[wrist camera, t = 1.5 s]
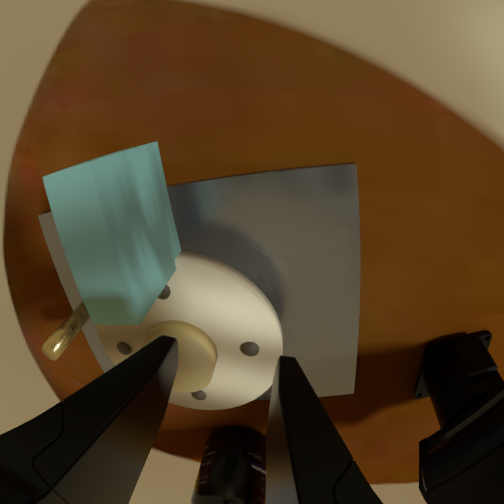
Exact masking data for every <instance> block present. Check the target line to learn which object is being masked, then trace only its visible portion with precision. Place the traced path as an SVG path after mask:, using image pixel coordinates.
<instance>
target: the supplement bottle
mask: <svg viewBox="0 0 504 504" xmlns="http://www.w3.org/2000/svg"><path fill="white" fill-rule="evenodd" d="M191 504H266V436H265V435H264V434H262V433H260V432H258V431H256V430H253V429H250V428H246V427H239V426H227V427H222V428H219V429H216V430H215V431H213V432H212V433H211V434H210V435H209V437H208V439H207V443H206V446H205V450H204V453H203V457H202V461H201V464H200V468H199V472H198V476H197V479H196V483H195V487H194V490H193V494H192V498H191Z"/></svg>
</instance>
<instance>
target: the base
mask: <svg viewBox="0 0 504 504" xmlns="http://www.w3.org/2000/svg"><path fill="white" fill-rule="evenodd" d="M166 187H167V191H168V196H169V200H170V205H171V209H172V213H173V218H174V222H175V226H176V230H177V235H178V239H179V243H180V247H181V251H188V252H193V253H197V254H202V255H205V256H208V257H211V258H214V259H216V260H219V261H221V262H223V263H225V264H227V265H229V266H231V267H232V268H234V269H236V270H237V271H239V272H241V273H242V274H243V275H245V276H246V277H247V278H248V279H250V280H251V281H252V282H253V283H254V284H255V285H256V286H257V287H258V288H259V289H260V290H261V291H262V292H263V293H264V294H265V296H266V297H267V298H268V299H269V301H270V302H271V304H272V306H273V307H274V309H275V311H276V313H277V315H278V318H279V320H280V323H281V328H282V332H283V356H291V357H295V358H296V359H297V361H298V363H299V365H300V366H301V368H302V370H303V372H304V373H305V375H306V377H307V379H308V380H309V382H310V384H311V386H312V388H313V389H314V391H315V393H316V395H317V396H318V397H324V396H335V395H345V394H354V387H355V376H356V363H357V349H358V332H359V309H360V222H359V199H358V182H357V167H356V164H355V163H341V164H328V165H317V166H306V167H296V168H287V169H278V170H269V171H261V172H253V173H245V174H238V175H231V176H224V177H217V178H210V179H204V180H197V181H191V182H185V183H179V184H173V185H168V186H166ZM38 218H39V221H40V224H41V228H42V231H43V234H44V237H45V240H46V243H47V246H48V249H49V252H50V254H51V257H52V260H53V263H54V265H55V268H56V271H57V273H58V276H59V278H60V281H61V283H62V286H63V288H64V291H65V293H66V295H67V298H68V300H69V302H70V305H71V307H72V309H73V312H72V313H71V314H70V315H69V316H68V317H67V318H66V320H65V321H64V322H63V323H62V324H61V325H60V326H59V327H58V329H57V330H56V331H55V332H54V333H53V334H52V335H51V337H50V338H49V339H48V340H47V341H46V342H45V343H44V345H43V346H42V351H43V352H44V354H45V355H46V356H47V357H48V358H49V359H51V360H54V361H55V360H57V359H58V357H59V356H60V355H61V354H62V352H63V351H64V350H65V348H66V347H67V346H68V345H69V343H70V342H71V341H72V340H73V338H74V337H75V336H76V335H77V333H78V332H79V331H80V330H81V329H82V331H83V333H84V335H85V337H86V339H87V341H88V343H89V345H90V347H91V349H92V351H93V353H94V355H95V357H96V358H97V360H98V362H99V364H100V366H101V368H102V369H103V371H104V373H105V372H107V371H108V370H110V369H111V368H113V367H114V366H116V365H115V364H114V363H113V362H112V360H111V359H110V357H109V356H108V354H107V353H106V351H105V349H104V347H103V345H102V343H101V340H100V338H99V335H98V331H97V327H96V324H93V322H92V320H91V318H90V316H89V313H88V311H87V309H86V306H85V304H84V302H83V299H82V297H81V294H80V292H79V290H78V287H77V284H76V282H75V279H74V277H73V274H72V272H71V269H70V266H69V263H68V261H67V258H66V255H65V252H64V249H63V246H62V243H61V240H60V237H59V234H58V231H57V228H56V225H55V221H54V218H53V215H52V211H48V212H44V213H41V214H40V215H38ZM271 391H272V385H271V386H270V387H269V389H268V390H266V391H265V392H264V393H263V394H262V395H261V396H259V397H257V398H256V399H254V400H270V399H271Z"/></svg>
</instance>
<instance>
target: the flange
mask: <svg viewBox="0 0 504 504" xmlns="http://www.w3.org/2000/svg"><path fill="white" fill-rule="evenodd" d="M43 181H44V185H45V189H46V193H47V197H48V201H49V204H50V208H51V211H52V215H53V218H54V221H55V225H56V228H57V231H58V234H59V237H60V240H61V243H62V246H63V249H64V252H65V255H66V258H67V261H68V263H69V266H70V269H71V272H72V274H73V277H74V279H75V282H76V284H77V287H78V290H79V292H80V294H81V297H82V299H83V302H84V304H85V306H86V309H87V311H88V313H89V316H90V318H91V320H92V322H93V324H96V327H97V331H98V335H99V338H100V340H101V343H102V345H103V347H104V349H105V351H106V353H107V354H108V356H109V357H110V359H111V360H112V362H113V363H114V364H115V365H117V364H119V363H120V362H122V361H123V360H125V359H126V358H128V357H129V356H131V355H132V354H134V353H135V352H137V351H138V350H140V349H141V348H143V347H144V346H146V345H147V344H149V343H150V342H152V341H153V340H155V339H156V338H158V337H159V336H161V335H167V336H171V337H175V338H176V339H177V340H178V355H179V363H178V369H177V372H176V376H175V380H174V383H173V387H172V390H171V394H170V398H169V401H168V402H170V403H172V404H175V405H179V406H183V407H187V408H193V409H202V410H220V409H228V408H233V407H237V406H240V405H243V404H246V403H248V402H250V401H252V400H254V399H256V398H257V397H259V396H261V395H262V394H263V393H264V392H265V391H266V390H268V389H269V387H270V386H271V385H272V384H273V378H274V374H275V369H276V365H277V361H278V357H279V356H281V355H283V332H282V328H281V323H280V320H279V318H278V315H277V313H276V311H275V309H274V307H273V306H272V304H271V302H270V301H269V299H268V298H267V297H266V296H265V294H264V293H263V292H262V291H261V290H260V289H259V288H258V287H257V286H256V285H255V284H254V283H253V282H252V281H251V280H250V279H248V278H247V277H246V276H245V275H243V274H242V273H241V272H239V271H237V270H236V269H234V268H232V267H231V266H229V265H227V264H225V263H223V262H221V261H219V260H216V259H214V258H211V257H208V256H205V255H202V254H197V253H193V252H188V251H181V247H180V243H179V239H178V235H177V230H176V226H175V222H174V218H173V213H172V209H171V205H170V200H169V196H168V191H167V187H166V182H165V177H164V173H163V168H162V163H161V158H160V153H159V148H158V143H157V142H153V143H149V144H145V145H141V146H137V147H133V148H129V149H125V150H121V151H118V152H114V153H111V154H108V155H104V156H101V157H98V158H95V159H92V160H89V161H86V162H83V163H80V164H77V165H74V166H71V167H68V168H65V169H63V170H60V171H57V172H55V173H52V174H49V175H47V176H44V177H43Z"/></svg>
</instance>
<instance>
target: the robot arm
mask: <svg viewBox="0 0 504 504" xmlns="http://www.w3.org/2000/svg"><path fill="white" fill-rule="evenodd" d="M491 338H492V334H491V333H490V331H484V332H480V333H476V334H471V335H467V336H462V337H457V338H452V339H447V340H442V341H437V342H432V343H429V344H428V345H427V346H426V348H425V352H424V356H423V360H422V364H421V368H420V372H419V376H418V379H417V383H416V387H415V390H414V397H415V398H416V399H420V398H425V397H429V396H430V399H431V401H432V404H433V407H434V410H435V413H436V416H437V419H438V422H439V425H440V428H441V429H440V430H439V431H437V432H436V433H434V434H433V435H431V436H430V437H428V438H424V439H423V440H421V441H420V442H419V490H420V491H421V494H422V496H423V497H424V499H425V501H426V503H427V504H504V381H503V380H502V378H501V376H500V374H499V372H498V371H497V368H498V367H497V365H496V363H495V362H494V360H493V358H492V357H491V355H490V353H489V352H488V347H489V344H490V341H491ZM430 349H431V350H430ZM178 363H179V355H178V340H177V339H176V338H175V337H171V336H167V335H161V336H159V337H158V338H156V339H155V340H153V341H152V342H150V343H149V344H147V345H146V346H144V347H143V348H141V349H140V350H138V351H137V352H135V353H134V354H132V355H131V356H129V357H128V358H126V359H125V360H123V361H122V362H120V363H119V364H117V365H116V366H114V367H113V368H111V369H110V370H108V371H107V372H105V373H104V374H102V375H101V376H99V377H98V378H96V379H95V380H93V381H92V382H90V383H89V384H87V385H85V386H84V387H82V388H81V389H79V390H78V391H76V392H75V393H73V394H72V395H70V396H69V397H67V398H66V399H64V400H63V402H59V403H58V404H56V405H55V406H53V407H52V408H50V409H48V410H47V411H45V412H43V413H42V414H40V415H39V416H37V417H35V418H33V419H31V420H30V421H28V422H26V423H24V424H22V425H20V426H18V427H16V428H14V429H12V430H10V431H8V432H6V433H3V434H1V435H0V504H128V503H129V501H130V498H131V496H132V493H133V491H134V488H135V486H136V484H137V481H138V479H139V476H140V474H141V471H142V469H143V467H144V464H145V462H146V459H147V457H148V454H149V452H150V450H151V447H152V445H153V442H154V440H155V438H156V435H157V433H158V430H159V428H160V426H161V423H162V421H163V418H164V415H165V412H166V408H167V405H168V401H169V398H170V394H171V390H172V387H173V383H174V380H175V376H176V372H177V369H178ZM352 460H353V457H352V455H351V454H350V452H349V450H348V448H347V447H346V445H345V443H344V441H343V440H342V438H341V436H340V435H339V433H338V431H337V429H336V428H335V426H334V424H333V422H332V421H331V419H330V417H329V415H328V414H327V412H326V410H325V409H324V407H323V405H322V403H321V402H320V400H319V398H318V396H317V395H316V393H315V391H314V389H313V388H312V386H311V384H310V382H309V380H308V379H307V377H306V375H305V373H304V372H303V370H302V368H301V366H300V365H299V363H298V361H297V359H296V358H295V357H291V356H283V355H281V356H279V357H278V361H277V365H276V369H275V374H274V378H273V384H272V391H271V399H270V407H269V415H268V422H267V431H266V504H383V503H382V502H381V500H380V499H379V498H378V496H377V495H376V494H375V492H374V491H373V490H372V488H371V486H370V485H369V483H368V482H367V480H366V479H365V477H364V475H363V474H362V472H361V471H360V469H359V467H358V465H357V464H356V462H355V461H354V460H353V461H352Z"/></svg>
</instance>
